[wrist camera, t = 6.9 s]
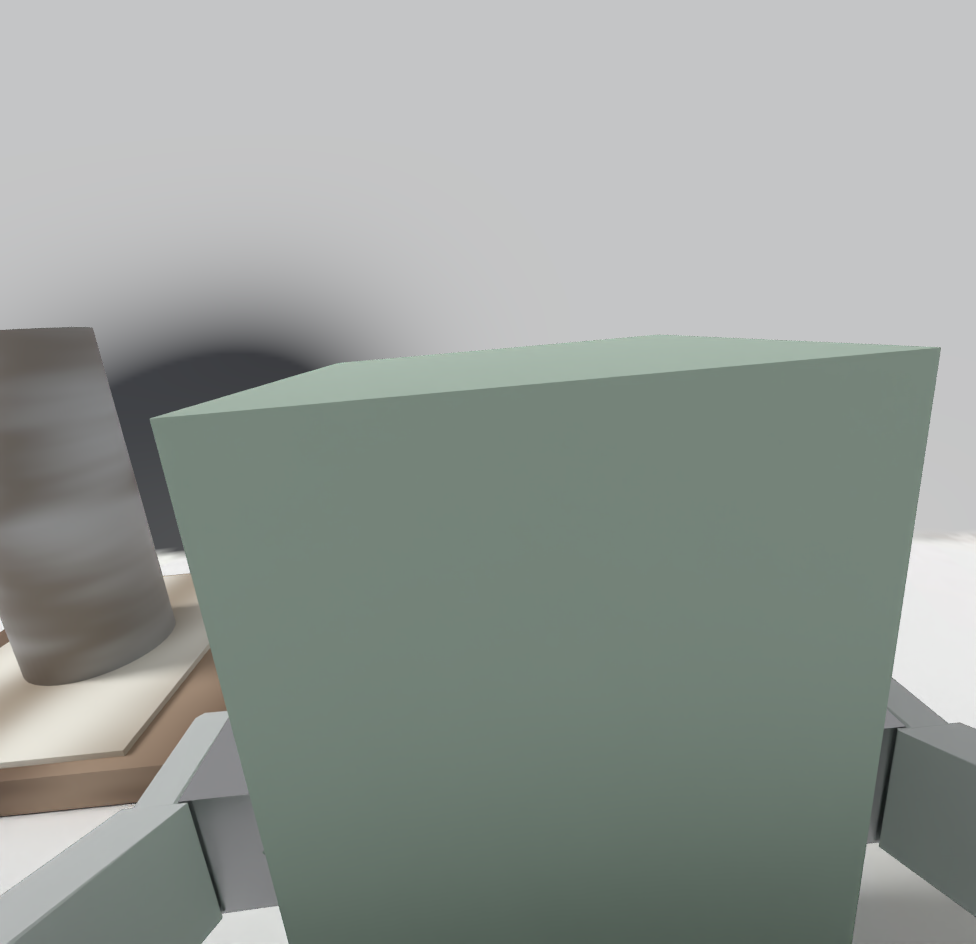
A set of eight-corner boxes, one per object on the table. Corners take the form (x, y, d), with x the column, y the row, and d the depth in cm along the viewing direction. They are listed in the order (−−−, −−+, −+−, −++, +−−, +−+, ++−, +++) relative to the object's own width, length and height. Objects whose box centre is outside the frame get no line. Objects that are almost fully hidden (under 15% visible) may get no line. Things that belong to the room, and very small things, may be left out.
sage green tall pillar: (400, 1366, 6) (150, 418, 3) (428, 923, 11) (338, 363, 8) (795, 1317, 7) (940, 346, 3) (655, 898, 11) (658, 335, 8)
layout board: (-248, 842, 15) (-543, 362, 11) (79, 605, 27) (-10, 343, 24) (725, 741, 15) (750, 251, 12) (608, 554, 28) (602, 290, 24)
